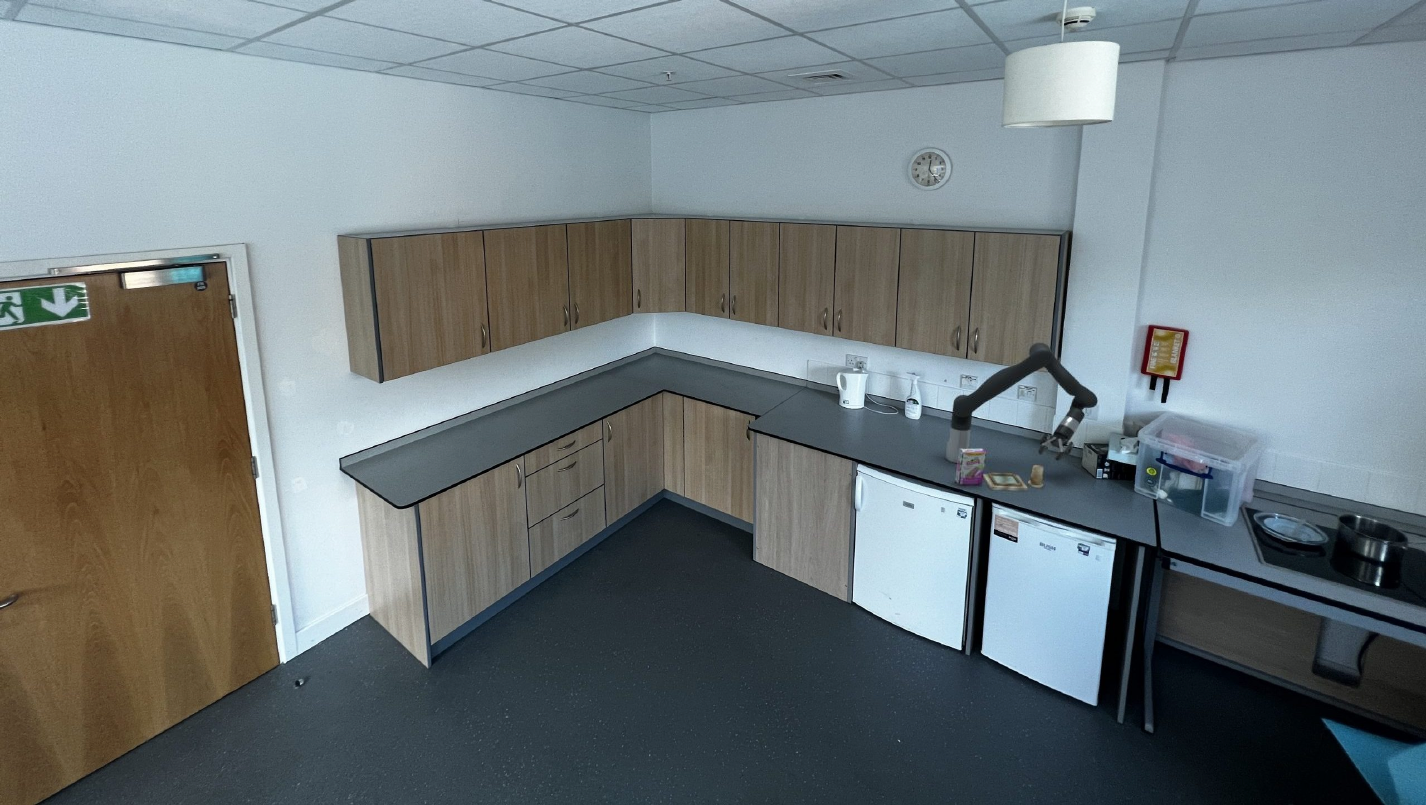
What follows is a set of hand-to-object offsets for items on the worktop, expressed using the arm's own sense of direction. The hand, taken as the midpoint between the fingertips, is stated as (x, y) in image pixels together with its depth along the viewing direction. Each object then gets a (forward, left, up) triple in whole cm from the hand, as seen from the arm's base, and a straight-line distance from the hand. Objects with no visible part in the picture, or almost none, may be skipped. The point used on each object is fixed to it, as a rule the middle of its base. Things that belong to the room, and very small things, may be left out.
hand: (1048, 456), depth 326 cm
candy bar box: (-18, -31, -13) cm, 38 cm away
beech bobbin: (0, -7, -13) cm, 14 cm away
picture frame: (-8, -18, -13) cm, 23 cm away
